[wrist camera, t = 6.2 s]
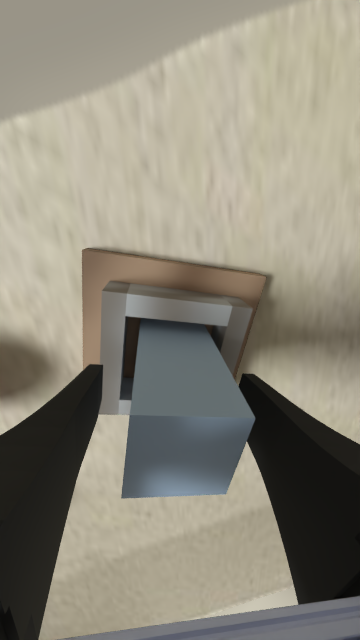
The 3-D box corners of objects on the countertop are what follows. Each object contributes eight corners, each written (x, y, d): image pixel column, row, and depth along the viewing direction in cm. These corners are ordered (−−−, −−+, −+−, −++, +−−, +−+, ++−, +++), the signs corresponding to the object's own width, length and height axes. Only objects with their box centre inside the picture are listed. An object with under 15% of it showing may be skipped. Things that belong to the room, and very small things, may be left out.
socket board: (259, 274, 15) (286, 285, 12) (221, 400, 19) (234, 433, 16) (86, 248, 13) (67, 254, 10) (87, 395, 17) (73, 431, 14)
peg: (202, 320, 14) (255, 418, 7) (191, 370, 16) (225, 494, 9) (141, 314, 14) (129, 415, 6) (135, 367, 15) (121, 498, 8)
